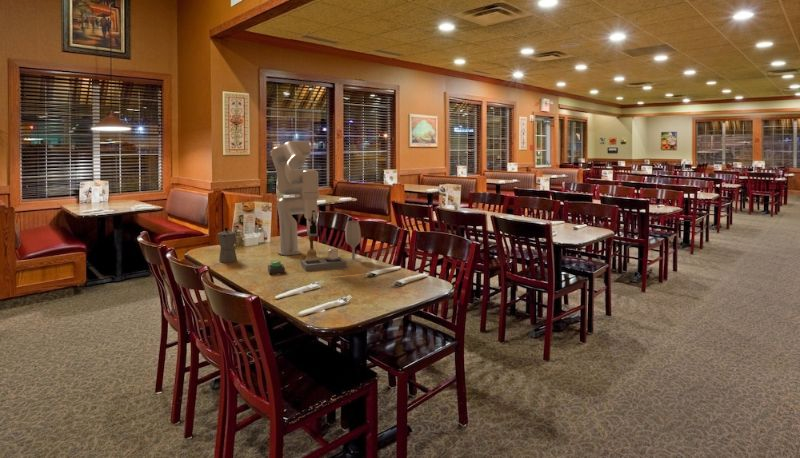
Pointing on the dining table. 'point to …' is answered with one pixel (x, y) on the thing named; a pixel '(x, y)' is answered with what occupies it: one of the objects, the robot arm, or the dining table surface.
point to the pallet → (322, 264)
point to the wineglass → (353, 238)
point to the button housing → (276, 270)
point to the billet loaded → (332, 255)
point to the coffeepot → (227, 246)
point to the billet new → (309, 228)
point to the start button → (275, 264)
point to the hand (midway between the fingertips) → (312, 232)
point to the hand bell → (311, 250)
